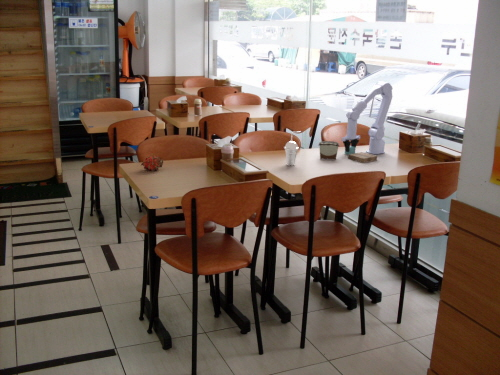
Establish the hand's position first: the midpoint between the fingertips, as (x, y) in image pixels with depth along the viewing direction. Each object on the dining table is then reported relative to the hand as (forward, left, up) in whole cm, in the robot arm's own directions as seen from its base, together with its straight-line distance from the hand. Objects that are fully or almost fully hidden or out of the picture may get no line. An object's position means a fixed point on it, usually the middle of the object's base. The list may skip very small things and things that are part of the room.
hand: (350, 151), depth 336 cm
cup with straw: (+50, +2, -2) cm, 50 cm away
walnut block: (+4, +14, -2) cm, 15 cm away
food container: (+20, +1, -2) cm, 20 cm away
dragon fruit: (+121, -29, -2) cm, 124 cm away
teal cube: (0, 0, -2) cm, 2 cm away
